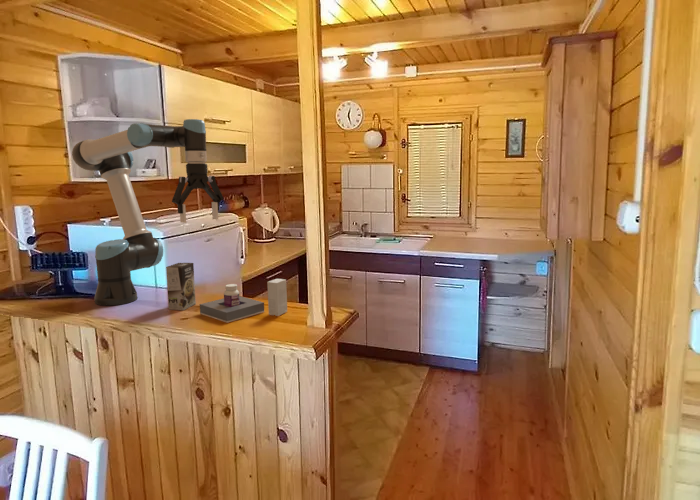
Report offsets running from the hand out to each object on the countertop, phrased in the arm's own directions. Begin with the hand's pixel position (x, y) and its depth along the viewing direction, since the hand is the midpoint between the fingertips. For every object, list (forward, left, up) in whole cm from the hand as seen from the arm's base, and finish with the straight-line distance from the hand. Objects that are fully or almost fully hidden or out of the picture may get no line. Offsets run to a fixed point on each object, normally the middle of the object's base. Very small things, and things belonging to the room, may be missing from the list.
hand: (199, 220), depth 183 cm
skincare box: (+32, +9, -32) cm, 46 cm away
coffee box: (-2, -8, -32) cm, 33 cm away
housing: (+19, -1, -32) cm, 37 cm away
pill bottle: (+19, -1, -31) cm, 37 cm away
